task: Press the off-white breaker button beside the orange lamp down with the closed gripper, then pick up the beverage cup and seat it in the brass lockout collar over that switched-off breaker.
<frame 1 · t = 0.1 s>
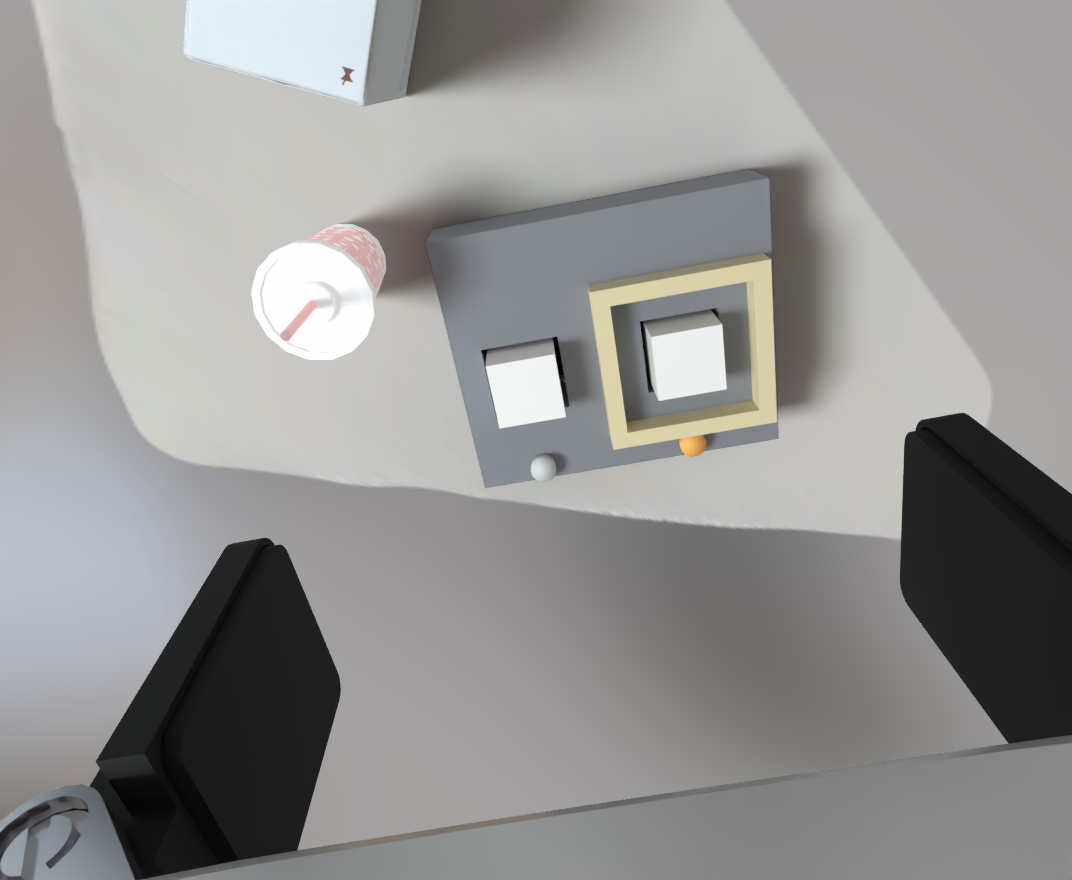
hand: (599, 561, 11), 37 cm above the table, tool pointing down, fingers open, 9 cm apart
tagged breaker: (682, 351, 44), point 4 cm above the table, slide at 0.0 cm
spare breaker: (526, 379, 45), point 4 cm above the table, slide at 0.0 cm
beverage cup: (349, 261, 46), on the table
supplement box: (351, 7, 40), on the table
gray panel board: (591, 329, 48), on the table
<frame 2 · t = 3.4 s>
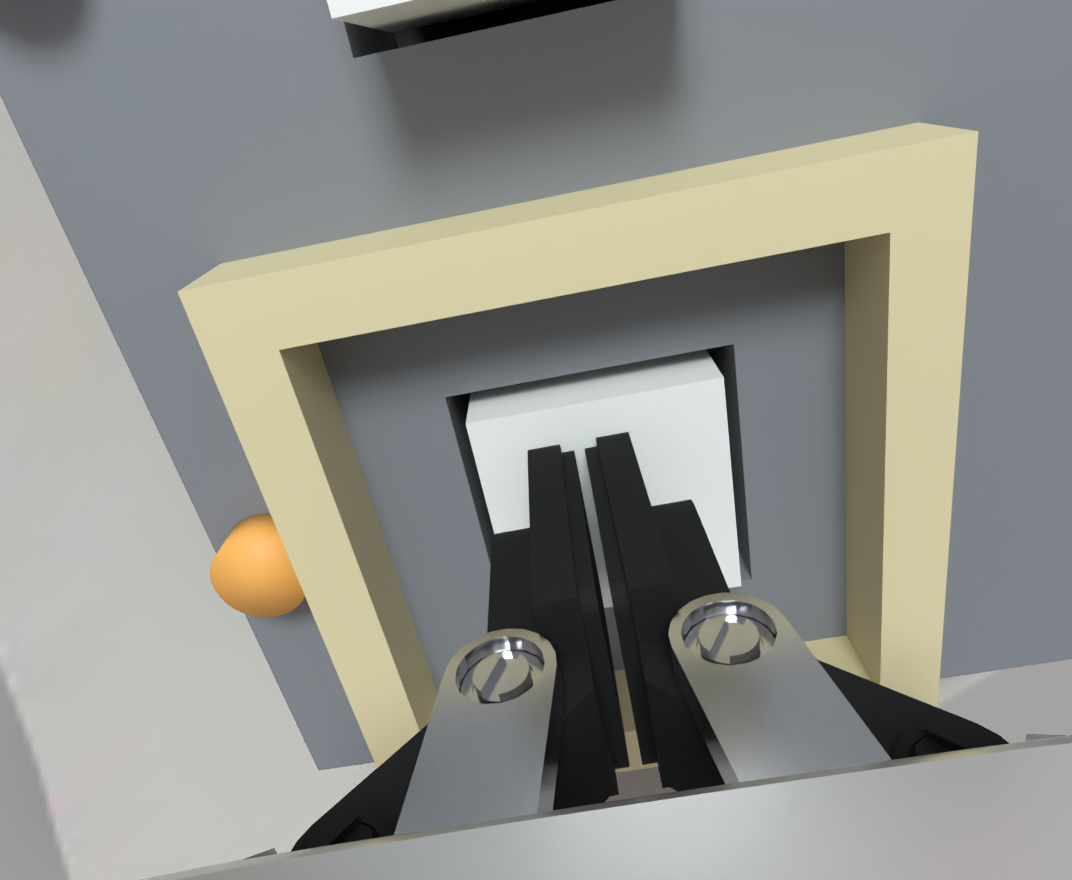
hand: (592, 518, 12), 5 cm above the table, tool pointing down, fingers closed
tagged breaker: (600, 453, 14), point 3 cm above the table, slide at -1.6 cm, touching gripper
gray panel board: (601, 151, 14), on the table
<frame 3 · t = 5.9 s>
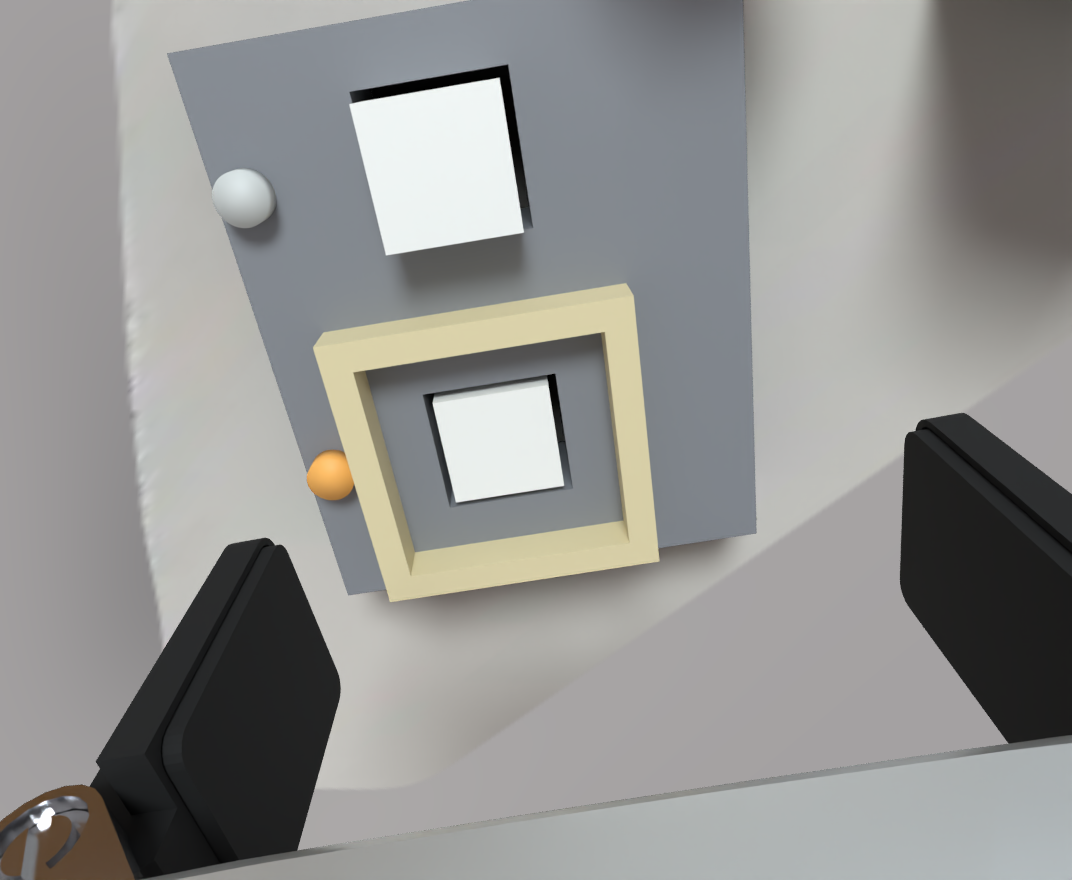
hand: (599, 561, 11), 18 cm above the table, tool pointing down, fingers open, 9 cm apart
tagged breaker: (500, 422, 28), point 2 cm above the table, slide at -1.9 cm
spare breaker: (445, 162, 22), point 4 cm above the table, slide at 0.0 cm
gray panel board: (503, 273, 28), on the table
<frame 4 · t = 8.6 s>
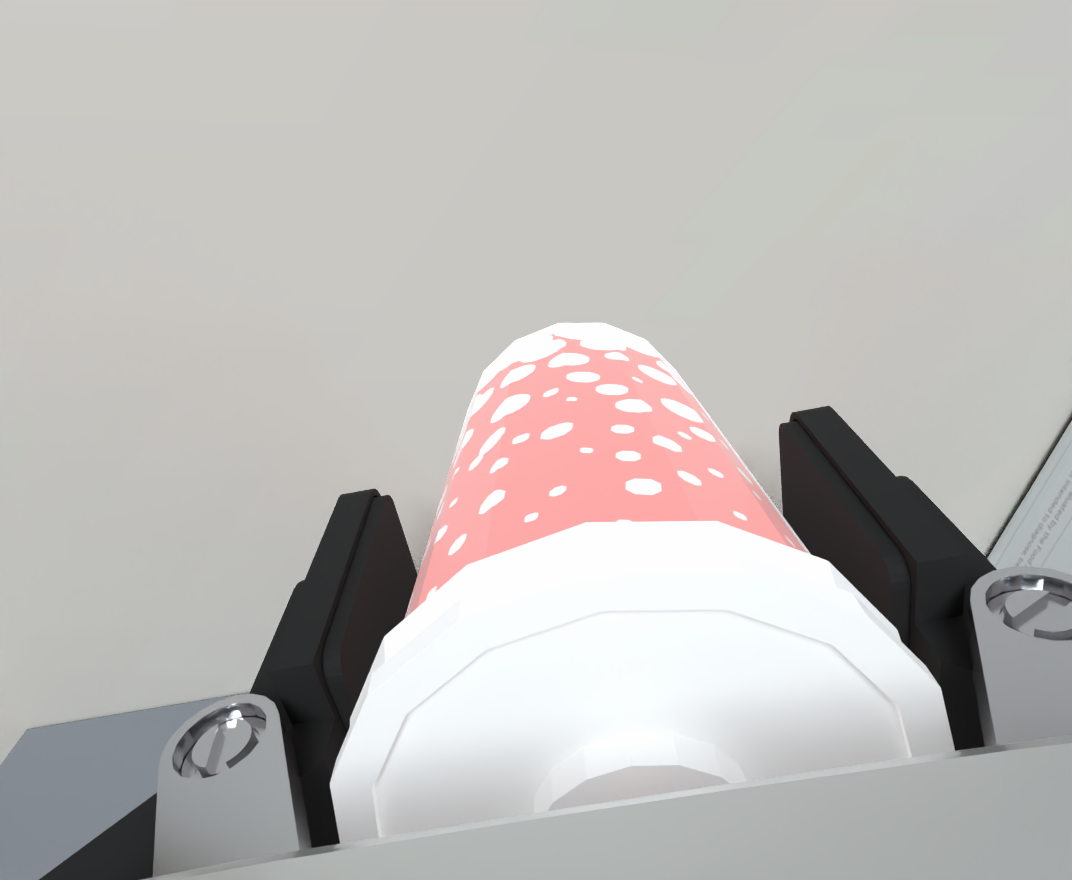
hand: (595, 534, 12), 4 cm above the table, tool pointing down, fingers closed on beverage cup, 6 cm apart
beverage cup: (577, 424, 16), on the table, touching gripper
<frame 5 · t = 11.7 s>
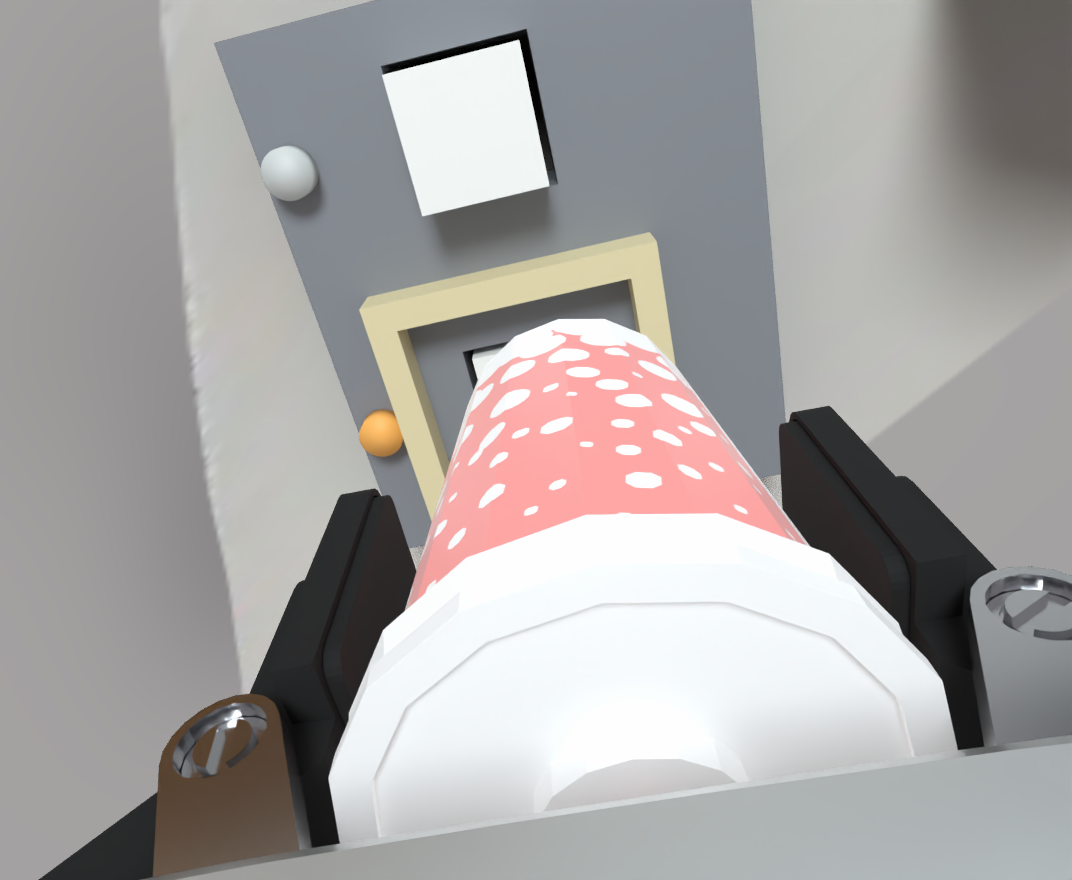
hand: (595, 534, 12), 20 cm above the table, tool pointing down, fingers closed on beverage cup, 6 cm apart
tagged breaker: (537, 377, 29), point 2 cm above the table, slide at -1.9 cm
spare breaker: (472, 127, 24), point 4 cm above the table, slide at 0.0 cm
beverage cup: (577, 420, 16), point 16 cm above the table, touching gripper
gray panel board: (532, 235, 29), on the table
when the fingers open (9 cm above the table, at t = 14.6 s): beverage cup stays where it is, resting on gray panel board, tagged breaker.
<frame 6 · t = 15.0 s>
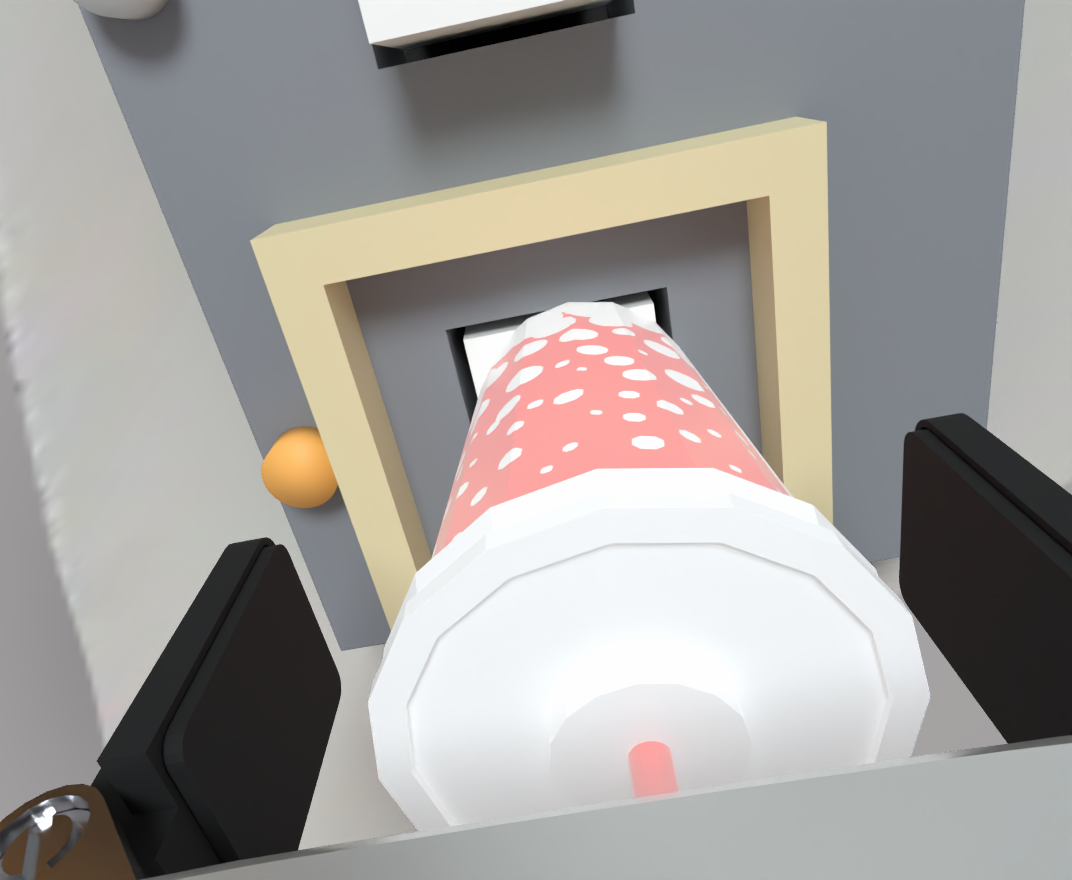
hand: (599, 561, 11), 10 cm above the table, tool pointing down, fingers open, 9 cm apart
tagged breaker: (568, 374, 18), point 2 cm above the table, slide at -2.1 cm, touching beverage cup
beverage cup: (585, 399, 16), point 4 cm above the table, touching gray panel board, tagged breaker
gray panel board: (568, 142, 18), on the table
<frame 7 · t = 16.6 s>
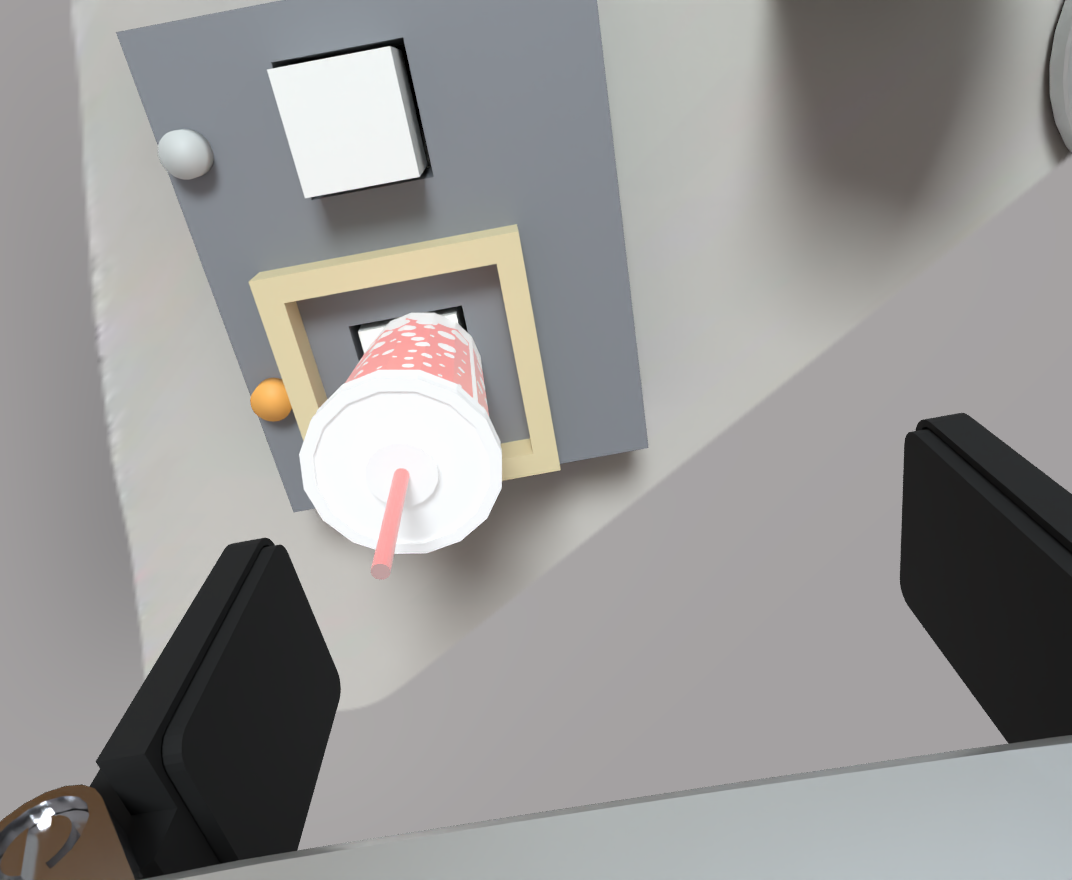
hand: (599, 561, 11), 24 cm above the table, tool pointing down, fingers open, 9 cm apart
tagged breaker: (422, 353, 32), point 2 cm above the table, slide at -2.1 cm, touching beverage cup
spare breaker: (355, 122, 26), point 4 cm above the table, slide at 0.0 cm
beverage cup: (425, 364, 31), point 4 cm above the table, touching gray panel board, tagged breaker
gray panel board: (421, 225, 32), on the table
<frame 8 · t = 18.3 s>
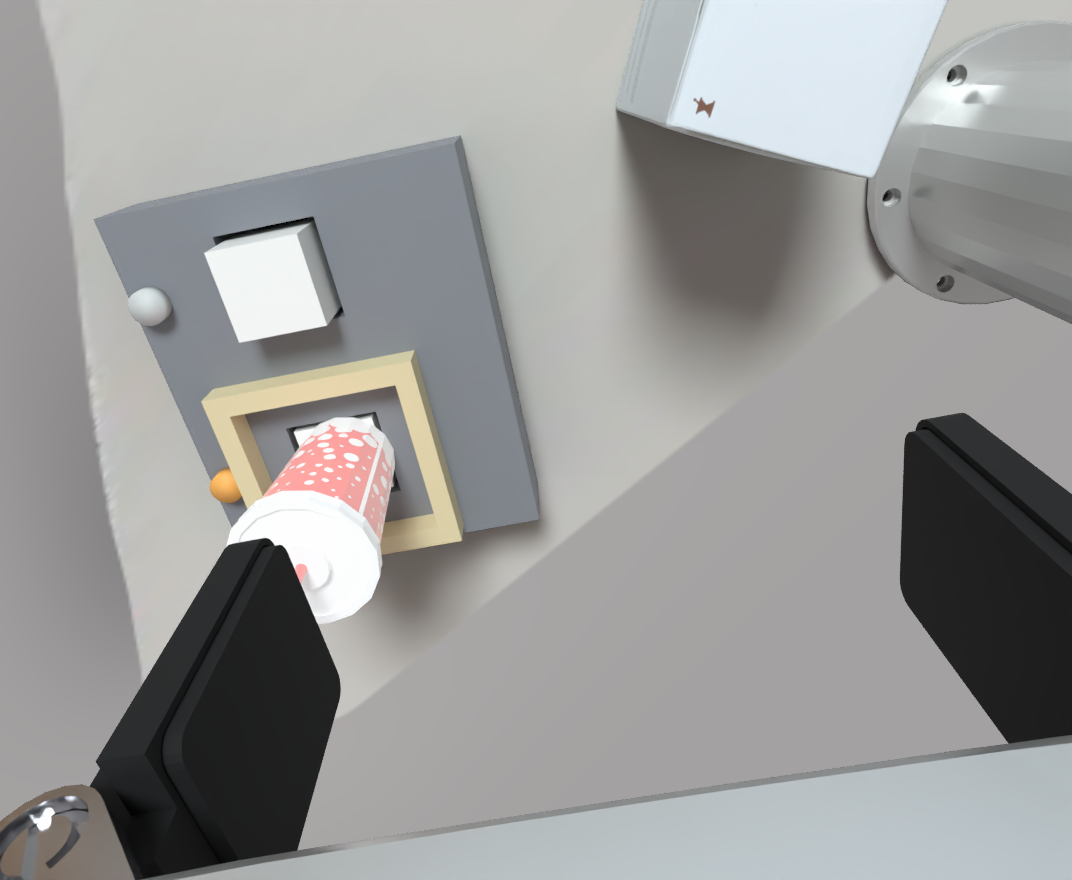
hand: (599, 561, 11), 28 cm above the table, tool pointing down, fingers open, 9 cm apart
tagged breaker: (352, 442, 40), point 2 cm above the table, slide at -2.1 cm, touching beverage cup
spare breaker: (280, 278, 33), point 4 cm above the table, slide at 0.0 cm
beverage cup: (350, 455, 38), point 4 cm above the table, touching gray panel board, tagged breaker
supplement box: (712, 45, 34), on the table
gray panel board: (349, 338, 39), on the table
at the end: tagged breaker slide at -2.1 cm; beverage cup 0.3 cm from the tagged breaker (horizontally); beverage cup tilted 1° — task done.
